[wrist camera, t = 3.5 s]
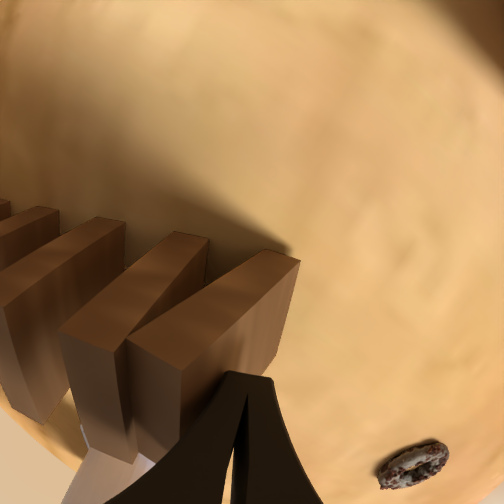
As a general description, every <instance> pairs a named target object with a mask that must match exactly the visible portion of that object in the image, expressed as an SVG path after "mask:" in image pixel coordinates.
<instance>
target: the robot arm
mask: <svg viewBox="0 0 504 504" xmlns="http://www.w3.org/2000/svg"><path fill="white" fill-rule="evenodd" d="M80 429H81V431H82V434H83V437H84V440H85V442H86V445H87V448H88V452H87V454H86V456H85V458H84V460H83V462H82V463H81V465H80V467H79V469H78V471H77V473H76V475H75V477H74V479H73V481H72V483H71V485H70V487H69V489H68V491H67V492H66V494H65V496H64V499H63V501H62V503H61V504H221V503H222V497H223V491H224V485H225V479H226V473H227V468H228V465H229V462H230V458H231V455H232V451H233V448H234V454H233V469H232V485H231V500H230V504H323V502H322V501H321V499H320V497H319V496H318V494H317V493H316V491H315V489H314V487H313V486H312V484H311V482H310V480H309V479H308V477H307V475H306V473H305V471H304V469H303V467H302V465H301V463H300V460H299V458H298V456H297V454H296V452H295V449H294V447H293V445H292V442H291V440H290V437H289V434H288V432H287V429H286V426H285V423H284V420H283V417H282V414H281V411H280V408H279V404H278V400H277V396H276V392H275V387H274V381H273V380H272V379H271V378H269V377H264V376H258V375H252V374H247V373H241V372H236V371H231V370H228V371H226V372H224V375H223V378H222V380H221V382H220V384H219V386H218V388H217V390H216V391H215V393H214V395H213V396H212V398H211V399H210V401H209V403H208V404H207V406H206V407H205V408H204V410H203V411H202V413H201V414H200V415H199V417H198V418H197V419H196V421H195V422H194V423H193V425H192V426H191V427H190V428H189V429H188V430H187V432H186V433H185V434H184V435H183V436H182V438H181V439H180V440H179V441H178V442H177V443H176V444H175V445H174V446H173V447H172V449H171V450H170V451H169V452H168V453H167V454H166V455H165V456H164V457H163V458H162V459H160V460H159V461H158V462H157V463H156V464H155V463H154V462H152V461H151V460H149V459H148V458H146V457H145V456H143V455H142V454H140V453H138V455H137V457H136V459H135V461H134V463H133V465H131V464H129V463H126V462H124V461H121V460H119V459H116V458H114V457H112V456H109V455H107V454H105V453H102V452H100V451H98V450H96V449H94V448H91V447H90V446H89V444H88V441H87V438H86V436H85V433H84V430H83V427H82V424H81V425H80Z"/></svg>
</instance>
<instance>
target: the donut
mask: <svg viewBox="0 0 504 504" xmlns="http://www.w3.org/2000/svg"><path fill="white" fill-rule="evenodd" d="M394 458H395V457H394ZM394 458H392V459H390V460H389V461H388V462H387V463H386V464H385V465H384V466H383V467H382V468H381V470H379V472H380V473H379V475H378V477H377V478H378V481H379V484H380V485H381V487H380V490H381V489H382V490H383V489H388V488H391V489H393V490H394V489H398V488H406V487H410V486H413V485H416V484H419V483H421V482H423V481H425V480H427V479H429V478H430V477H431V476H434V475H435V474H436V473H437V472H440V471H441V468H442V467H443V466H445V464H446V462H447V460H448V458H449V451H448V448H447V446H446V445H444V444H442V443H435V444H431V445H425V446H418V447H413V448H411V449H409V450H405V451H404V452H403V453H402V454H401V455H400V456H399V457H397V458H395V459H394ZM423 463H425V464H424V465H421V466H419V467H418V468H416V469H415V470H411V471H407V472H404V471H405V470H406V469H408V468H410V467H412V466H414V465H415V466H418V465H419V464H423Z"/></svg>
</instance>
